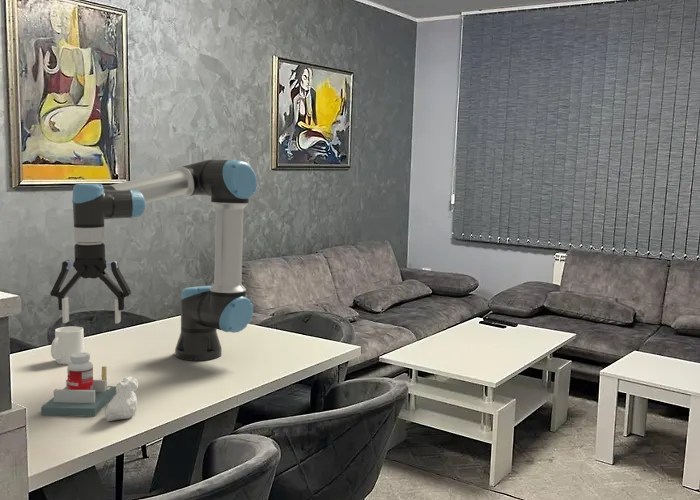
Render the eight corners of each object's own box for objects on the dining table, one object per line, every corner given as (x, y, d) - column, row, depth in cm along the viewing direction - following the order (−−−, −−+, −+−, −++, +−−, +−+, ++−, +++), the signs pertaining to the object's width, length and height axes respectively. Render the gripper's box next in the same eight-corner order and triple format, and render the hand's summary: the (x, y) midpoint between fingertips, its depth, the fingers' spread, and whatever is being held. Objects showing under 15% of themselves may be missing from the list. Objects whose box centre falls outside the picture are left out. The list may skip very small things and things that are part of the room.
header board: (116, 393, 191) (116, 364, 190) (94, 416, 173) (94, 384, 172) (67, 392, 190) (67, 363, 190) (41, 415, 173) (40, 383, 172)
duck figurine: (112, 434, 168) (140, 400, 166) (88, 413, 168) (115, 379, 166) (134, 417, 180) (160, 385, 178) (111, 398, 180) (137, 366, 178)
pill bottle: (63, 396, 181) (62, 354, 180) (85, 391, 186) (84, 350, 185) (75, 401, 177) (74, 359, 176) (97, 396, 182) (97, 354, 181)
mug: (62, 369, 212) (62, 335, 211) (40, 365, 215) (40, 332, 213) (89, 359, 223) (89, 328, 222) (68, 356, 226) (68, 325, 225)
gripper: (141, 241, 188) (143, 319, 191) (46, 240, 186) (49, 318, 189) (134, 245, 180) (136, 325, 183) (35, 244, 179) (38, 325, 182)
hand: (92, 322), depth 186 cm, fingers open, 13 cm apart
